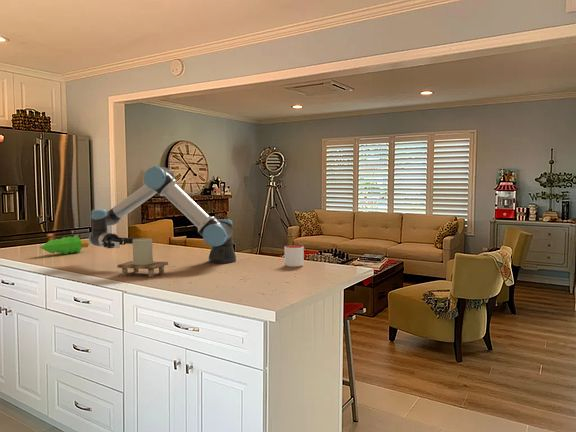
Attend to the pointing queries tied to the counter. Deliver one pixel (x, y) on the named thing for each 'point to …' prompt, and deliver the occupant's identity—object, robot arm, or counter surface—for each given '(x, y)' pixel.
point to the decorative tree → (65, 245)
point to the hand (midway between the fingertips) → (131, 243)
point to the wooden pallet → (142, 267)
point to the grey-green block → (142, 251)
